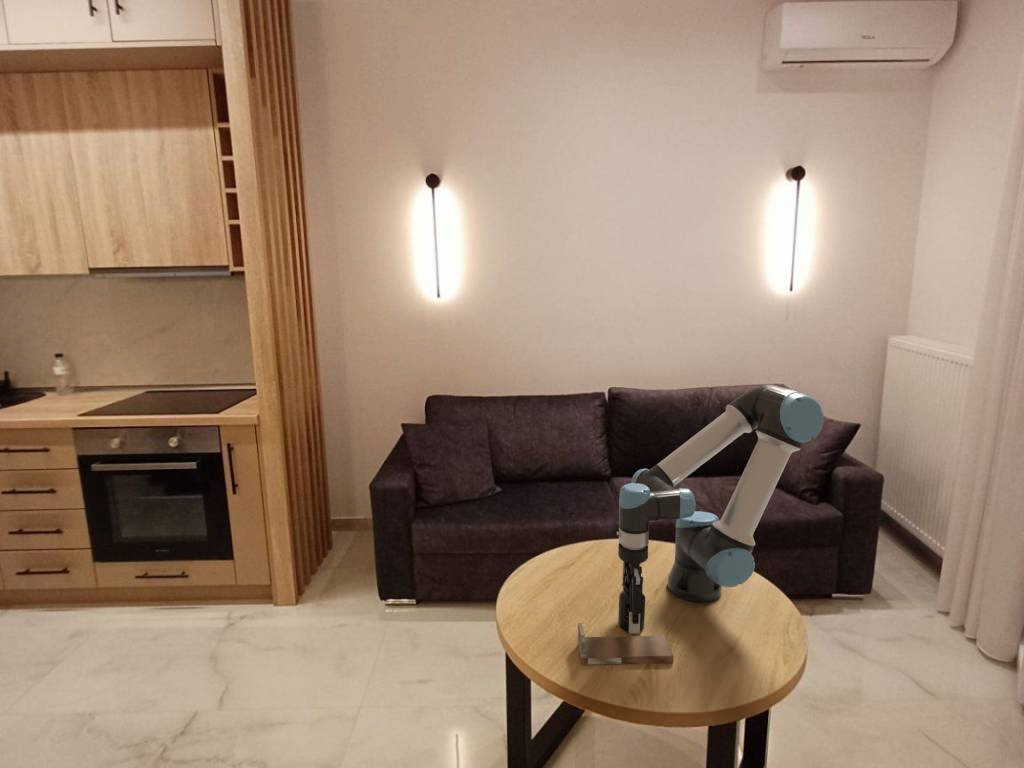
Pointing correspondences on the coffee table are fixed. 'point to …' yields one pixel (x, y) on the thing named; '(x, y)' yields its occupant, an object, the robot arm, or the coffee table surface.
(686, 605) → the coffee table surface
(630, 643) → the rail flange
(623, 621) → the supplement bottle
